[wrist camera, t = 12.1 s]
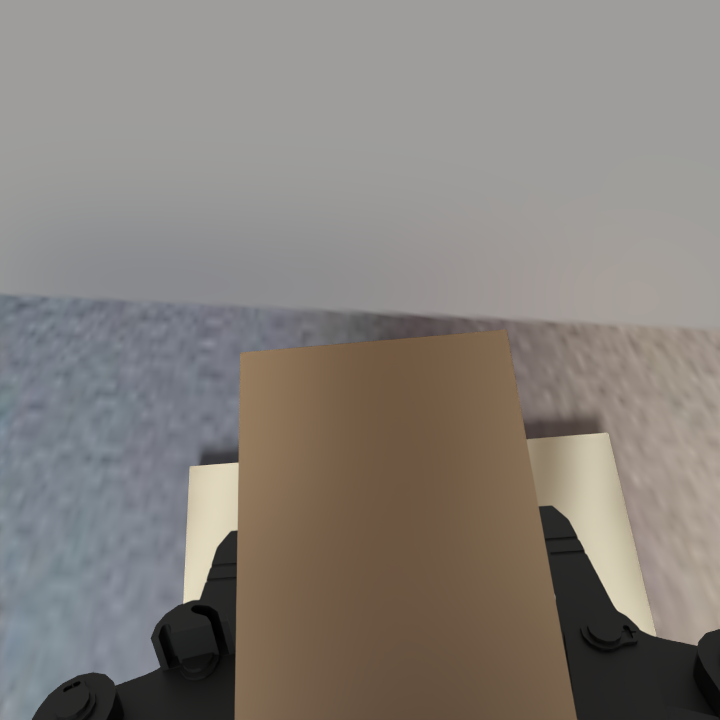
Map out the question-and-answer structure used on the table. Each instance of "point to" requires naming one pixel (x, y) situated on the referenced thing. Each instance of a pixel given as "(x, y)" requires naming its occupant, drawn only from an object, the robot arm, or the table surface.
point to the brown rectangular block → (392, 538)
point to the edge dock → (553, 487)
